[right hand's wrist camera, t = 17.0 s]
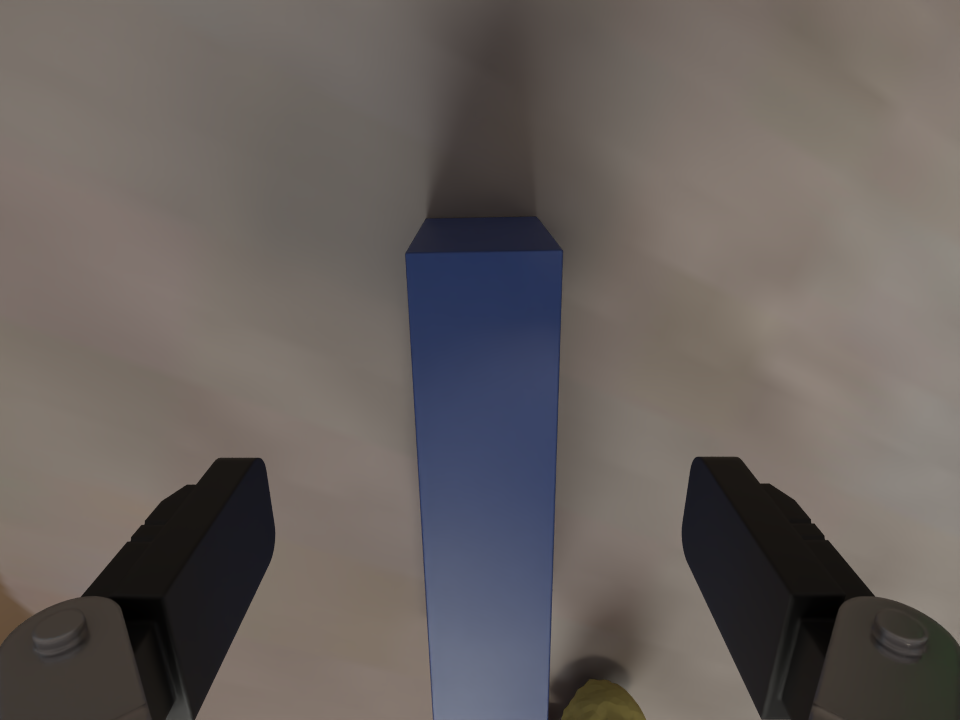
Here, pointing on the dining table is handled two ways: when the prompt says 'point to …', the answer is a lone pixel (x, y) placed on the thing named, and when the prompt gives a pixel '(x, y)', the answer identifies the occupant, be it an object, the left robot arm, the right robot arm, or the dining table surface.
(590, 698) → the figurine
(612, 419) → the dining table surface
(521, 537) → the bar
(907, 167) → the dining table surface
